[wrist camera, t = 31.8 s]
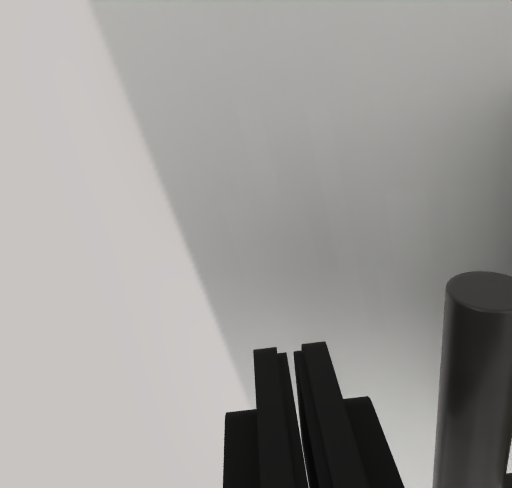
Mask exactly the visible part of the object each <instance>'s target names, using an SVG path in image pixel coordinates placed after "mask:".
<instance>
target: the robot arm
mask: <svg viewBox="0 0 512 488" xmlns="http://www.w3.org/2000/svg"><path fill="white" fill-rule="evenodd" d="M253 353H254V371H255V389H256V407H257V409H253V410H246V411H236V412H227V413H226V415H225V437H224V471H223V488H308V482H309V488H404V485H403V483H402V480H401V477H400V475H399V472H398V469H397V467H396V464H395V462H394V459H393V456H392V454H391V451H390V448H389V446H388V443H387V441H386V438H385V435H384V433H383V430H382V428H381V425H380V422H379V420H378V417H377V414H376V412H375V409H374V407H373V404H372V402H371V400H370V398H369V397H368V396H366V397H358V398H349V399H343V398H342V394H341V391H340V388H339V384H338V381H337V378H336V374H335V371H334V368H333V365H332V361H331V358H330V355H329V351H328V348H327V345H326V342H316V343H308V344H302V351H294V363H295V374H296V384H297V395H298V405H299V416H300V427H301V437H302V445H303V451H302V445H301V439H300V433H299V427H298V421H297V414H296V408H295V402H294V396H293V390H292V384H291V378H290V372H289V366H288V359H287V354H286V352H285V353H277V348H276V347H273V348H265V349H256V350H253ZM303 452H304V457H303ZM304 458H305V463H304ZM305 464H306V469H305ZM306 470H307V476H308V482H307V476H306Z"/></svg>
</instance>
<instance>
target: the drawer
mask: <svg viewBox="0 0 512 488" xmlns="http://www.w3.org/2000/svg"><path fill="white" fill-rule="evenodd" d="M511 440H512V277H510V276H507V275H504V274H499V273H494V272H482V271H478V272H467V273H462V274H459V275H456V276H454V277H453V278H451V279H450V280H449V281H448V283H447V285H446V291H445V306H444V321H443V336H442V351H441V366H440V381H439V396H438V412H437V427H436V442H435V457H434V472H433V487H432V488H512V473H507V474H506V471H507V464H508V458H509V452H510V446H511Z"/></svg>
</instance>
